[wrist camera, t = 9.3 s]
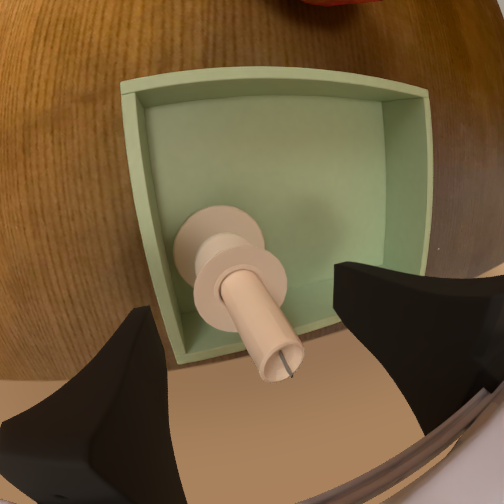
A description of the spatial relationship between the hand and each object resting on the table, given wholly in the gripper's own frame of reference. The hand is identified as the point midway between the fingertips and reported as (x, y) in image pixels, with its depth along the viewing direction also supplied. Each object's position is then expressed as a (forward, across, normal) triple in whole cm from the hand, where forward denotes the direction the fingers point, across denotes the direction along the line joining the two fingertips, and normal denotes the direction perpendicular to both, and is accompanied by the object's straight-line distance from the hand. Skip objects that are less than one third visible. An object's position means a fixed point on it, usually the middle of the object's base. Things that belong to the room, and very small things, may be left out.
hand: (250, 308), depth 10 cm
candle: (+7, 0, 0) cm, 7 cm away
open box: (+7, -5, -3) cm, 9 cm away
